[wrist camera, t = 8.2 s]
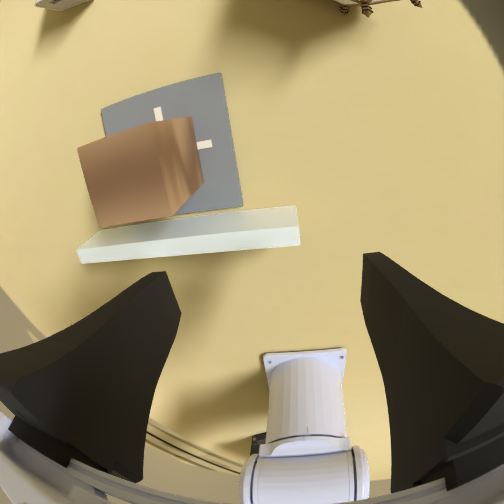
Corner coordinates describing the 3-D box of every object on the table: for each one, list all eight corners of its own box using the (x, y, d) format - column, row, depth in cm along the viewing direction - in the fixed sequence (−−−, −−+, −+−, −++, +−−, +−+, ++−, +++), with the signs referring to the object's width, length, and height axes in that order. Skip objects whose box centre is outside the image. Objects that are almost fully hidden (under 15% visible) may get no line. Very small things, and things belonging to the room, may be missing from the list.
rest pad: (243, 204, 19) (242, 206, 18) (130, 220, 20) (128, 222, 20) (221, 73, 15) (220, 72, 14) (103, 109, 16) (100, 109, 16)
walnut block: (204, 182, 18) (172, 216, 13) (145, 192, 19) (100, 227, 13) (191, 116, 16) (150, 122, 11) (131, 132, 16) (77, 148, 11)
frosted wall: (297, 221, 19) (300, 245, 16) (103, 242, 21) (81, 263, 18) (296, 205, 18) (298, 226, 15) (99, 230, 21) (76, 250, 18)
